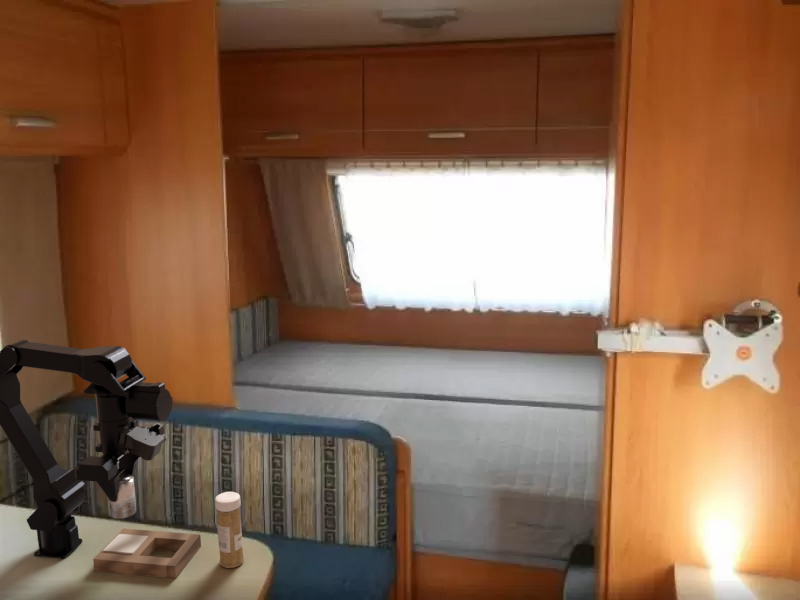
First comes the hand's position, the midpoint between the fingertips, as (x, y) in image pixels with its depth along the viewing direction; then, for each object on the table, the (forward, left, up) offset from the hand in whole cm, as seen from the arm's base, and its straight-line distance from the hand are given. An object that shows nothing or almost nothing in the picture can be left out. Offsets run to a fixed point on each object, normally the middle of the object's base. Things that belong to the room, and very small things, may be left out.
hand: (121, 494), depth 142 cm
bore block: (+5, 0, -13) cm, 14 cm away
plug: (0, 0, -4) cm, 4 cm away
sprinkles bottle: (+21, +1, -13) cm, 24 cm away
